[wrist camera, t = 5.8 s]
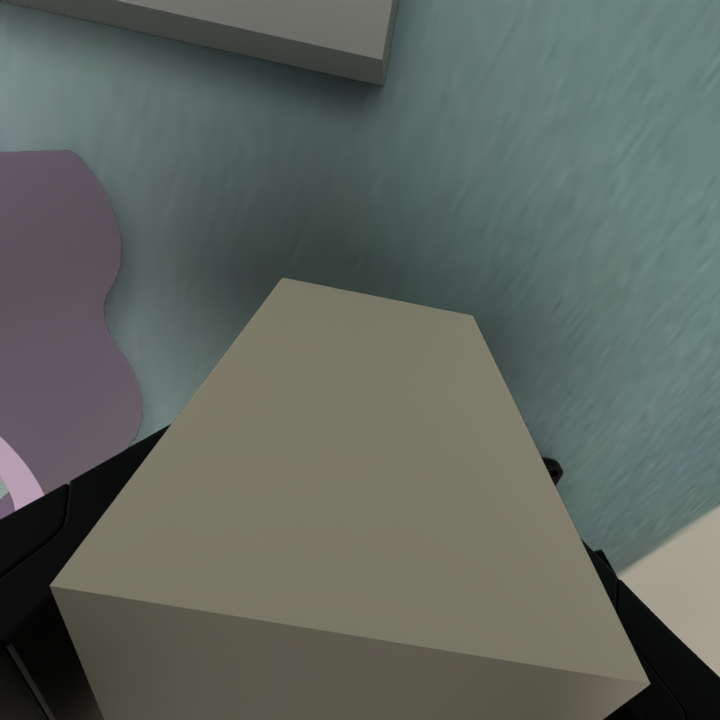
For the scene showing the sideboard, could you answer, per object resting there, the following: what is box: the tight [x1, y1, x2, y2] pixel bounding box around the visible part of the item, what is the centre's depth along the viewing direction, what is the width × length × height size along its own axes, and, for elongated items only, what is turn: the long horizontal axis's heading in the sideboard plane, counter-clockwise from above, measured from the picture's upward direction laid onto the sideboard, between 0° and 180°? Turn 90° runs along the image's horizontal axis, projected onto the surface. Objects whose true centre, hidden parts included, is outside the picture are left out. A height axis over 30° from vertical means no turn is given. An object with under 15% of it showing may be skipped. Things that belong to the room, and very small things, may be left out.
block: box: [50, 278, 650, 720], centre depth 7 cm, size 4×4×7 cm
